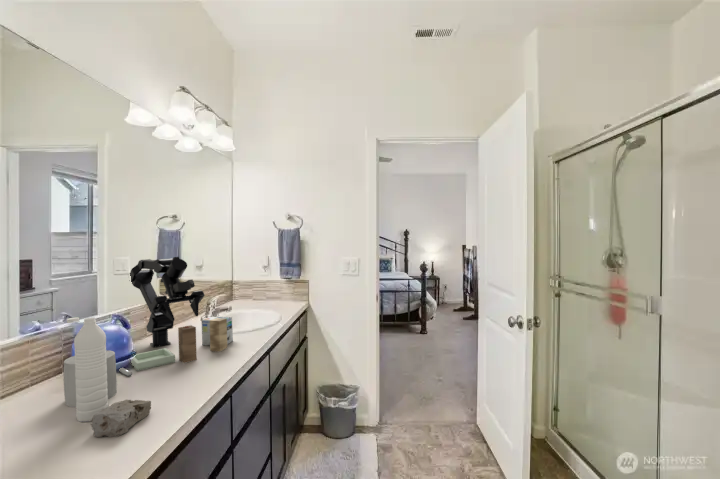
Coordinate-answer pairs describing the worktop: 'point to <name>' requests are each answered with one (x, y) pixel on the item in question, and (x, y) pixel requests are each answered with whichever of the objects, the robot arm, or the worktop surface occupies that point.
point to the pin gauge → (125, 372)
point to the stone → (119, 417)
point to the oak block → (218, 334)
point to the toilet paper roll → (70, 378)
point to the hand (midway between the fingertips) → (185, 318)
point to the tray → (152, 359)
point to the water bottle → (90, 369)
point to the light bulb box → (207, 330)
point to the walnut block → (187, 343)
